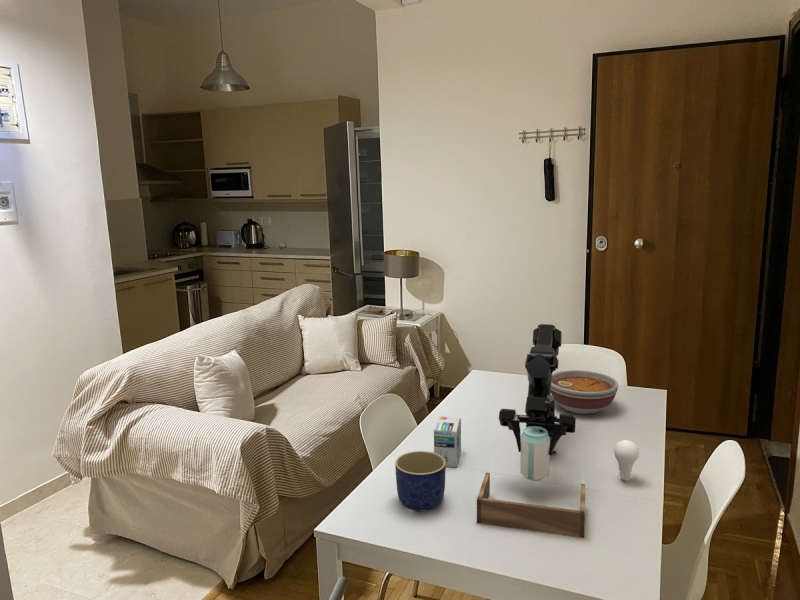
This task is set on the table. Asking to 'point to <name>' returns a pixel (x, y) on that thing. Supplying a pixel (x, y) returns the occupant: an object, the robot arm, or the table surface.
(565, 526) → the three-sided wooden tray
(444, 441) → the light bulb box
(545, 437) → the can
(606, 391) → the bowl
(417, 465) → the planter
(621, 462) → the lightbulb
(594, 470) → the table surface
